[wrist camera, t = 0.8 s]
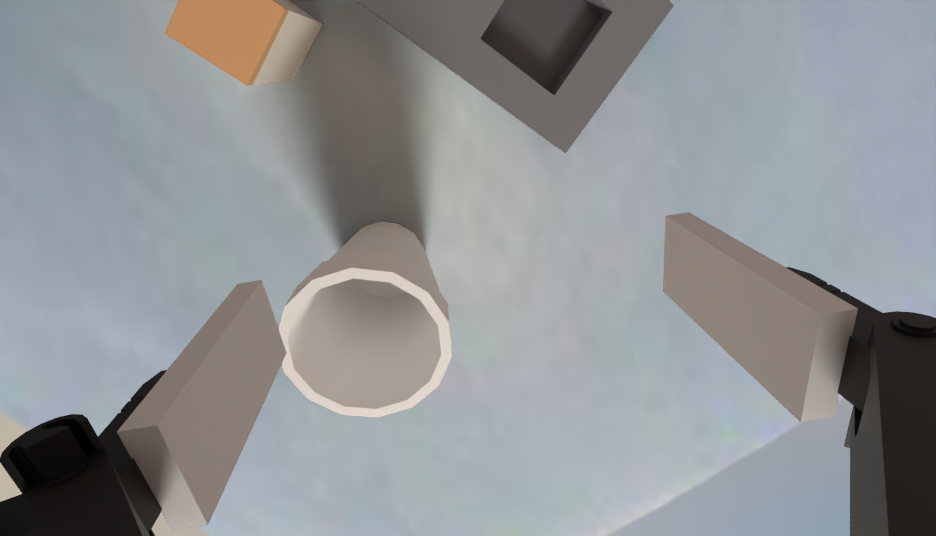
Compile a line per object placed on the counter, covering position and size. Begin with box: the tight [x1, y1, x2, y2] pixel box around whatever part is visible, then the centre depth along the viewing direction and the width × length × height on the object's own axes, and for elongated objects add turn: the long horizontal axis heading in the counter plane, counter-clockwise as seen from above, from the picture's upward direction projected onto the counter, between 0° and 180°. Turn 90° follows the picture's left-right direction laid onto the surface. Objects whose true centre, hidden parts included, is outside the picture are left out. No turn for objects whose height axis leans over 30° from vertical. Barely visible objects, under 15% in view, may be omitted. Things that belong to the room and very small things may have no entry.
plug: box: [165, 0, 323, 86], centre depth 27 cm, size 4×4×9 cm
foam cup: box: [279, 222, 452, 417], centre depth 32 cm, size 10×9×13 cm
